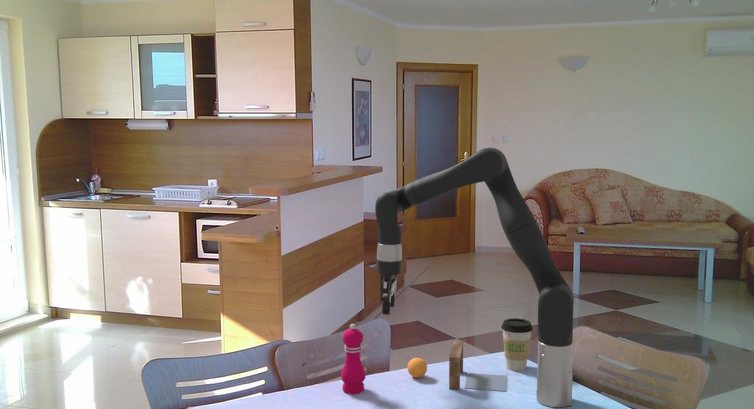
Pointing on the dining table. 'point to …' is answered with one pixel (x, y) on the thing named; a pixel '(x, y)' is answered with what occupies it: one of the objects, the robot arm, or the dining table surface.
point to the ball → (417, 367)
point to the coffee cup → (516, 342)
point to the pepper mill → (353, 362)
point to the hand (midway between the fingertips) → (388, 310)
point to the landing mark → (486, 382)
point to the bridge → (455, 365)
